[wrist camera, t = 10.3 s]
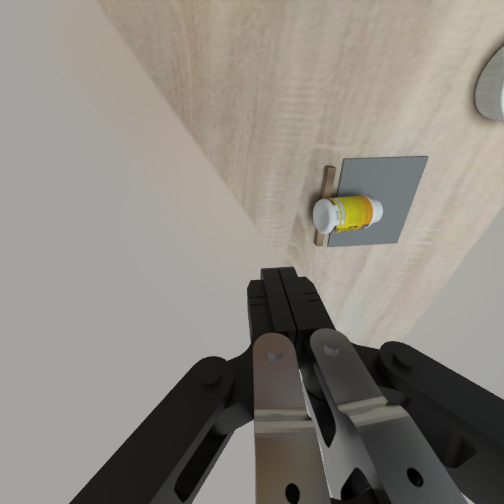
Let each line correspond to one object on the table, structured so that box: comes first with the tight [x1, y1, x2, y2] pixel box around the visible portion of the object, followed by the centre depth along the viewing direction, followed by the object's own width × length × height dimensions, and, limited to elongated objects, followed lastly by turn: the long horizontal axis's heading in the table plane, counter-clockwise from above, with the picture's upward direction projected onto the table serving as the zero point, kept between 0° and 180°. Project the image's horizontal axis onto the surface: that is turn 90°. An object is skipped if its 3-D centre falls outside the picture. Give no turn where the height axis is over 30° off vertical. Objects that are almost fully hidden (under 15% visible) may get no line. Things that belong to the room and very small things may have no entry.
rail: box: [314, 166, 336, 246], centre depth 40 cm, size 14×1×1 cm, turn 1°
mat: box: [327, 156, 428, 247], centre depth 41 cm, size 16×14×1 cm
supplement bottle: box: [313, 195, 383, 234], centre depth 38 cm, size 6×6×10 cm
